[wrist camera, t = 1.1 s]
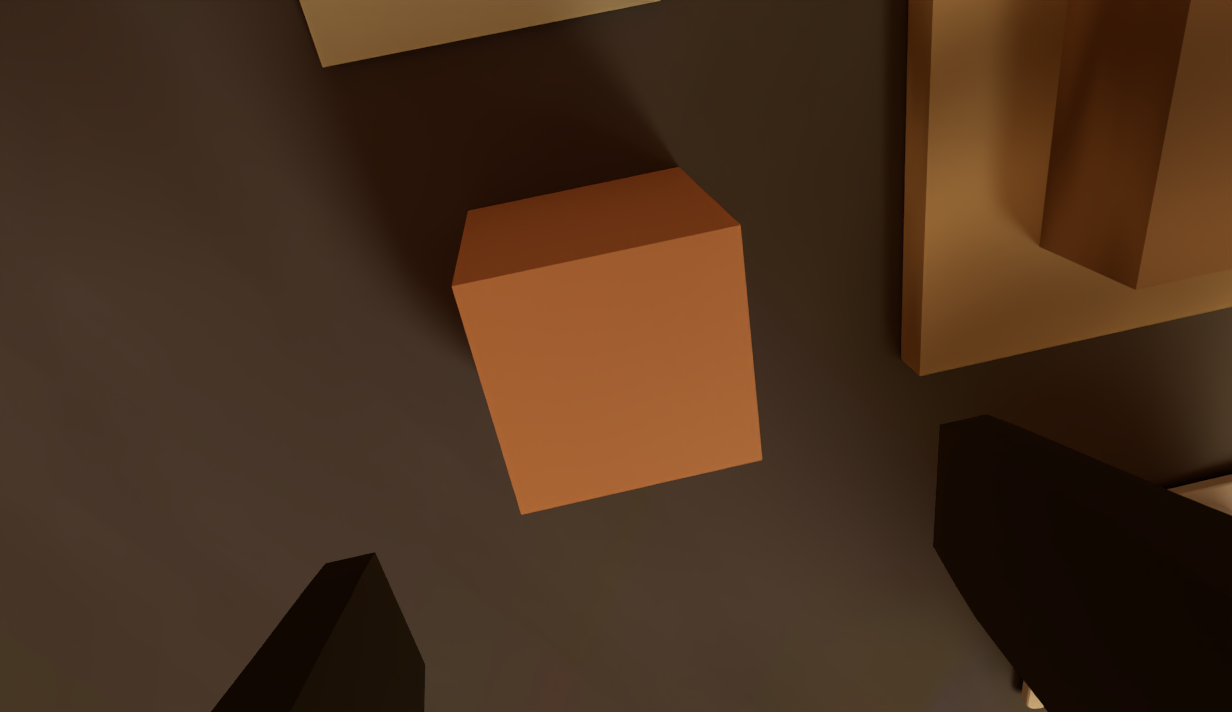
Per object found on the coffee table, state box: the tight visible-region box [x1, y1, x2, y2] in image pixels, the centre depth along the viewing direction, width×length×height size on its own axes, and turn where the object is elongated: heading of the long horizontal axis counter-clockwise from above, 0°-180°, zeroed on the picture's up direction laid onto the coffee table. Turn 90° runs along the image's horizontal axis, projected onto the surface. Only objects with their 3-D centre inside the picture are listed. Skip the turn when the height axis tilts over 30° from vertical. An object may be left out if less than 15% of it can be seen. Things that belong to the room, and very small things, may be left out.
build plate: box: [901, 0, 1232, 376], centre depth 16 cm, size 14×14×1 cm
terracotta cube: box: [452, 167, 762, 515], centre depth 15 cm, size 5×5×5 cm
